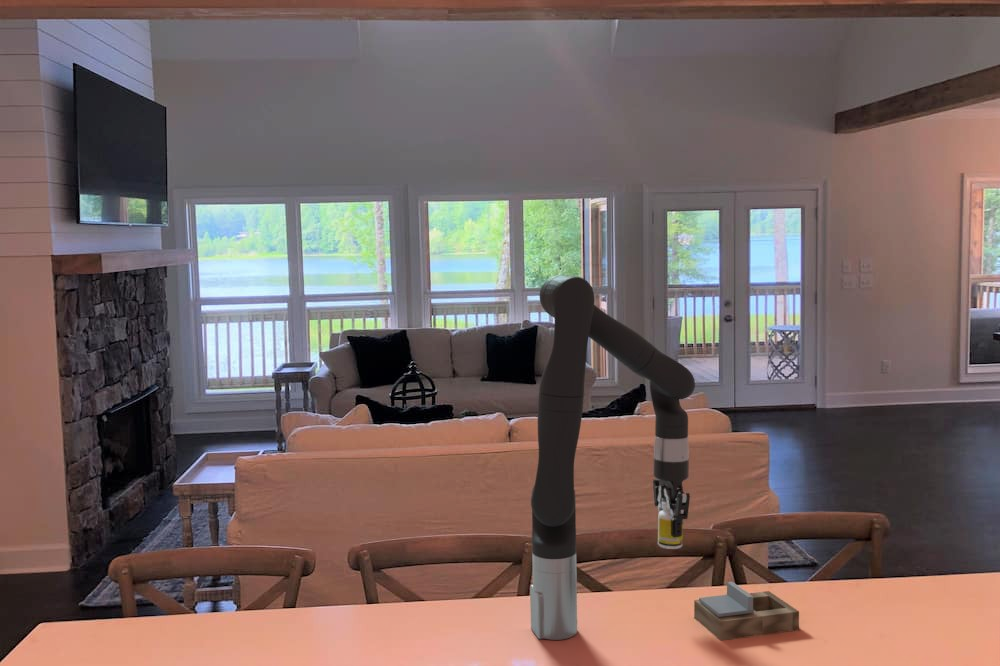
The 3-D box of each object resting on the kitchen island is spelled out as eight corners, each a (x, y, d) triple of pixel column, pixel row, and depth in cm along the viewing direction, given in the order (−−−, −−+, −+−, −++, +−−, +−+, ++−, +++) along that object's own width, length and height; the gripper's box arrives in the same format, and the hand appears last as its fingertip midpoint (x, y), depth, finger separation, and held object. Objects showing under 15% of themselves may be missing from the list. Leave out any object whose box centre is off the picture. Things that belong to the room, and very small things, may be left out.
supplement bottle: (684, 549, 197) (685, 505, 196) (659, 549, 197) (660, 505, 196) (680, 541, 202) (681, 498, 202) (655, 541, 202) (656, 498, 202)
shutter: (718, 617, 187) (718, 600, 187) (699, 601, 196) (699, 585, 196) (753, 612, 189) (754, 596, 189) (732, 597, 198) (732, 581, 198)
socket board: (720, 640, 186) (720, 621, 186) (694, 617, 198) (694, 600, 198) (798, 629, 191) (799, 611, 190) (768, 608, 202) (768, 591, 202)
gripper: (702, 462, 192) (701, 541, 193) (672, 448, 206) (671, 521, 207) (669, 465, 190) (668, 544, 192) (642, 450, 204) (641, 524, 206)
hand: (670, 532), depth 199 cm, fingers closed on supplement bottle, 5 cm apart
